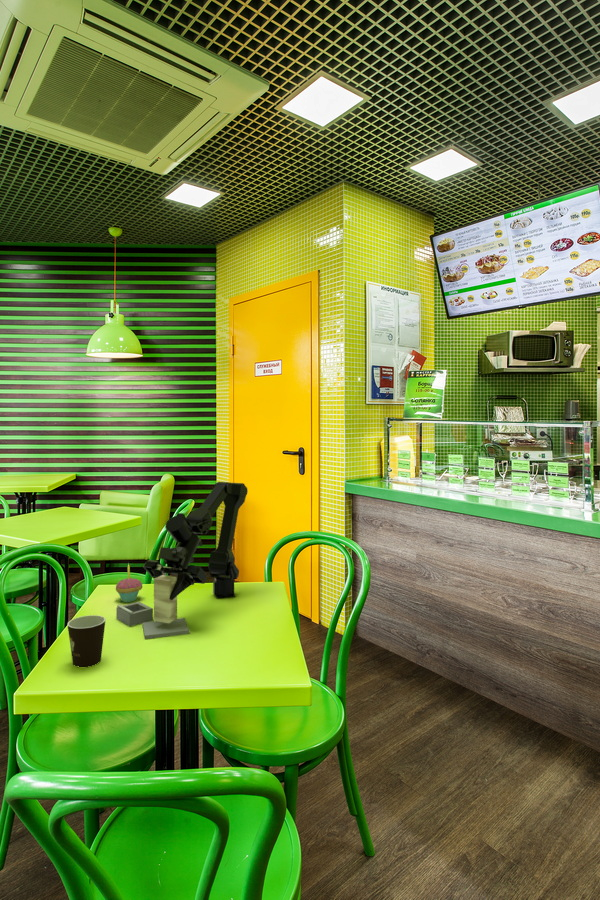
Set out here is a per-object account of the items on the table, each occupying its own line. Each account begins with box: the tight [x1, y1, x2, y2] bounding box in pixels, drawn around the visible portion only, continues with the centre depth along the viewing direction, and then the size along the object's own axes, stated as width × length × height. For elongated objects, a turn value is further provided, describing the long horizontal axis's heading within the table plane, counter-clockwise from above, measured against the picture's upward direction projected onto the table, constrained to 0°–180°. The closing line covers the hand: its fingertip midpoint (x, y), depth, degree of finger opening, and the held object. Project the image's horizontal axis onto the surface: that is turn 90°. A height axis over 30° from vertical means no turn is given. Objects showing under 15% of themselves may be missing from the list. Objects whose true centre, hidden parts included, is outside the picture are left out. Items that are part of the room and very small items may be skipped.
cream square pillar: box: [153, 574, 178, 623], centre depth 147 cm, size 4×5×12 cm
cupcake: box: [115, 562, 143, 603], centre depth 172 cm, size 9×8×12 cm
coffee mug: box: [67, 614, 106, 668], centre depth 128 cm, size 12×9×10 cm
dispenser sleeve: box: [115, 601, 154, 627], centre depth 155 cm, size 7×8×4 cm
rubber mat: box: [142, 617, 190, 640], centre depth 148 cm, size 12×10×1 cm
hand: (162, 598), depth 146 cm, fingers closed on cream square pillar, 5 cm apart
